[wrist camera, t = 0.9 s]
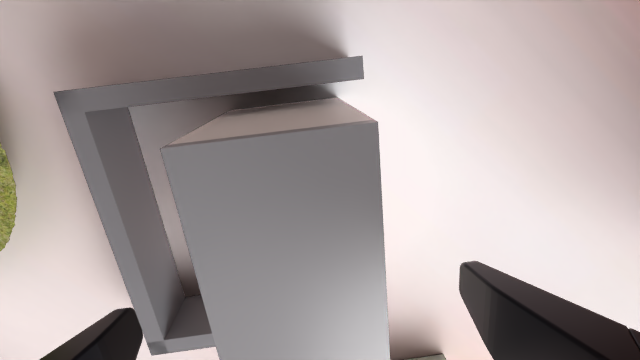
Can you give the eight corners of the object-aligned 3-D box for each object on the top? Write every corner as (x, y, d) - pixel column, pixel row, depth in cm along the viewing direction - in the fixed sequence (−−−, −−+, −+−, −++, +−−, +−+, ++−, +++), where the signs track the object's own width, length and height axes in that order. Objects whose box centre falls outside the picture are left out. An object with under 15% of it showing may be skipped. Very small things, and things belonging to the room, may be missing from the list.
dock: (349, 59, 14) (362, 55, 11) (366, 284, 18) (379, 323, 15) (102, 88, 14) (53, 91, 11) (174, 310, 18) (151, 355, 15)
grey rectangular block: (337, 97, 15) (377, 121, 7) (352, 261, 18) (392, 400, 10) (230, 109, 15) (160, 148, 7) (263, 273, 18) (237, 423, 10)
